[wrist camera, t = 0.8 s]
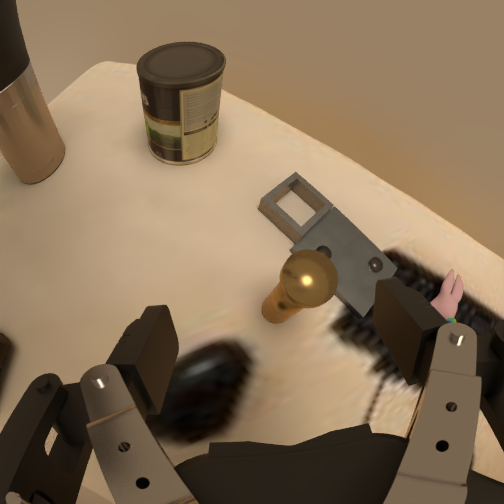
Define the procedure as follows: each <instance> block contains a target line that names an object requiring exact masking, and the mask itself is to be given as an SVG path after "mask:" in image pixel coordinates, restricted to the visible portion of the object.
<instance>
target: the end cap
mask: <svg viewBox="0 0 504 504" xmlns="http://www.w3.org/2000/svg"><path fill="white" fill-rule="evenodd" d="M8 347H9V341H8V339H7V338H6V337H5V335H3V334H2V333H0V371H1V367H2V364H3V361H4V358H5V356H6V353H7V350H8Z"/></svg>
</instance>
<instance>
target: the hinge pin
mask: <svg viewBox="0 0 504 504" xmlns="http://www.w3.org/2000/svg"><path fill="white" fill-rule="evenodd" d="M337 287H338V273H337V270H336V268H335V266H334V264H333V263H332V261H331V260H330V259H329V258H328V257H327V256H326V255H324V254H323V253H321V252H319V251H316V250H311V249H304V250H300V251H297V252H295V253H294V254H292V255H291V256H290V257H289V258H288V259H287V261H286V262H285V264H284V265H283V267H282V269H281V272H280V282H279V284H278V285H277V286H276V287H275V288H274V290H273V291H272V292H271V293H270V295H269V296H268V297H267V298H266V300H265V301H264V302H263V304H262V314H263V316H264V318H265V319H266V320H267V321H269V322H271V323H281V322H283V321H285V320H286V319H288V318H289V317H291V316H292V315H294V314H295V313H297V312H298V311H300V310H301V309H303V308H316V307H318V306H320V305H322V304H324V303H326V302H327V301H328V300H330V299H331V298H332V297H333V295H334V294H335V292H336V290H337Z"/></svg>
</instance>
